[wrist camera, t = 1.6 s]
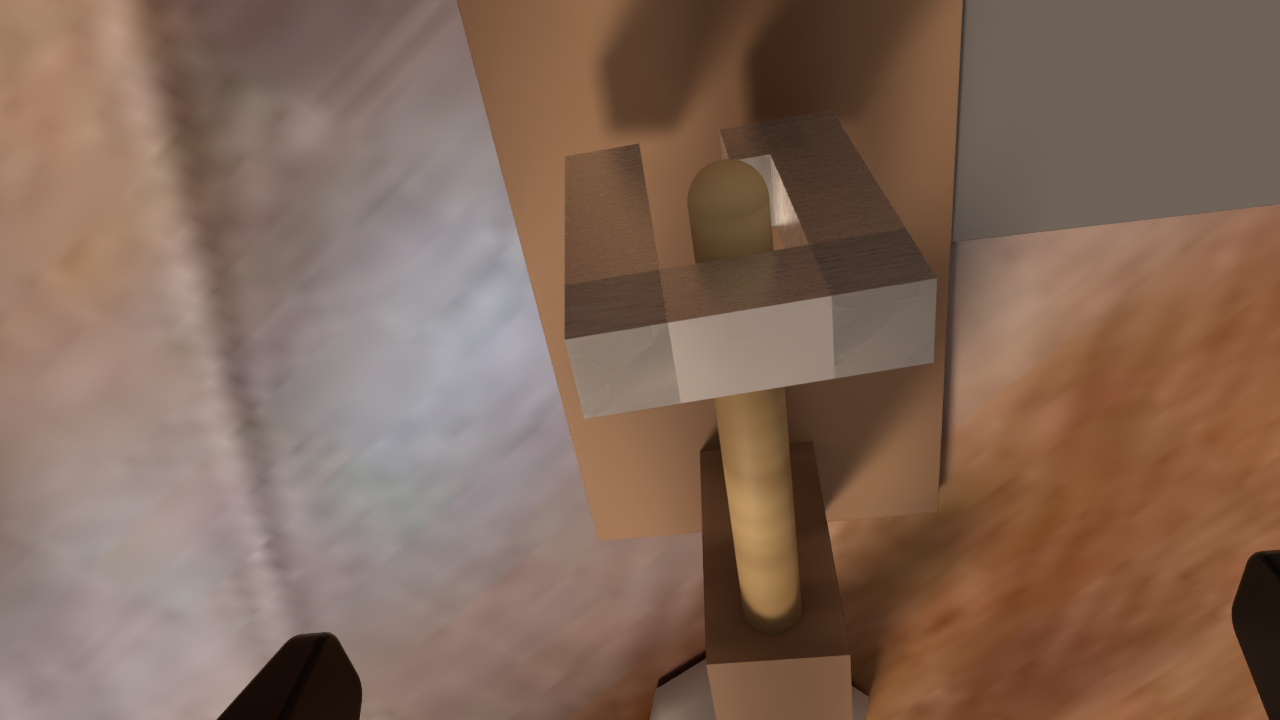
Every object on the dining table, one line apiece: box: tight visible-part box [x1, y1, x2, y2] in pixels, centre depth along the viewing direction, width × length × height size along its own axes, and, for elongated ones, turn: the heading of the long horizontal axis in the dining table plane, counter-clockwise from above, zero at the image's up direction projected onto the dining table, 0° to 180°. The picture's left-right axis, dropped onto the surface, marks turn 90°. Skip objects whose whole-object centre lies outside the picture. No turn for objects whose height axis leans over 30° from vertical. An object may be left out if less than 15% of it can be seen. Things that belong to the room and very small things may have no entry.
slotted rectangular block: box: [565, 110, 937, 419], centre depth 15 cm, size 5×1×6 cm, turn 99°
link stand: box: [457, 0, 963, 720], centre depth 18 cm, size 9×16×7 cm, turn 9°
